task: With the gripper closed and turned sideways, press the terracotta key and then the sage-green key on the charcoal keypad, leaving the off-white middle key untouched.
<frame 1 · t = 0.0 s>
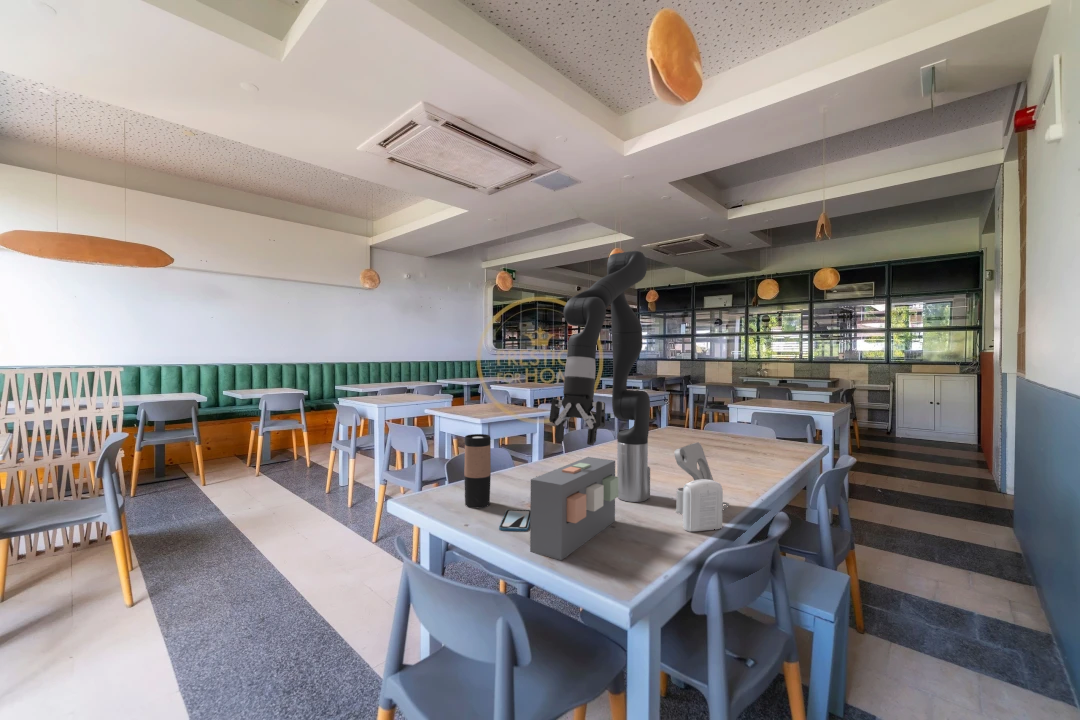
hand: (574, 443, 109), 22 cm above the table, tool pointing down, fingers open, 8 cm apart
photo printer: (702, 529, 114), on the table
smartphone: (516, 522, 119), on the table
travel mug: (477, 504, 131), on the table
phone holder: (702, 509, 128), on the table
terracotta key: (572, 506, 99), point 10 cm above the table, slide at 0.0 cm
white key: (590, 496, 107), point 10 cm above the table, slide at 0.0 cm
sage key: (606, 487, 114), point 10 cm above the table, slide at 0.0 cm
keypad console: (591, 538, 107), on the table
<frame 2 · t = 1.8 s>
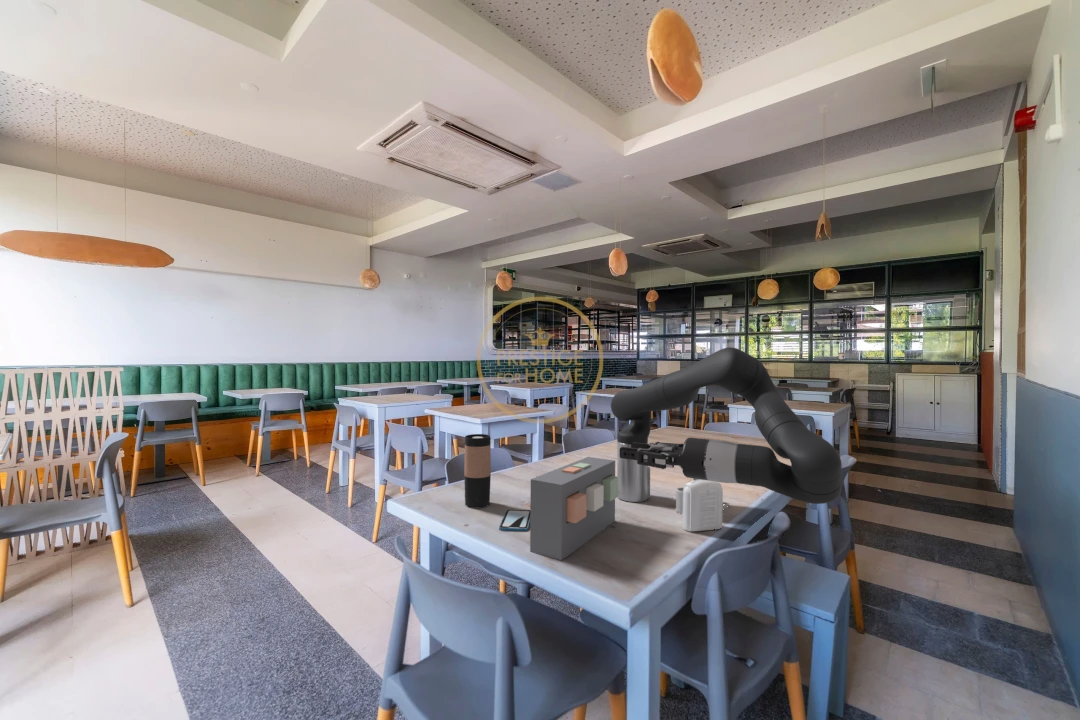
hand: (626, 449, 92), 24 cm above the table, tool horizontal, fingers open, 5 cm apart
nothing on the table moved.
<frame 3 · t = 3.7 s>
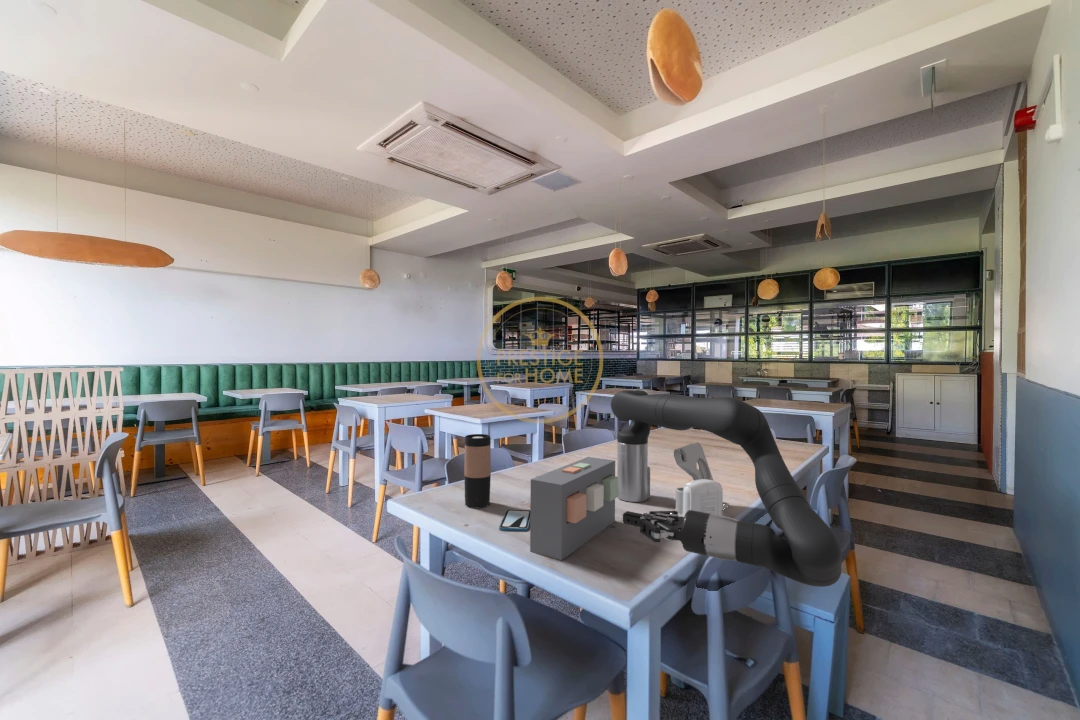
hand: (624, 517, 92), 10 cm above the table, tool horizontal, fingers closed
nothing on the table moved.
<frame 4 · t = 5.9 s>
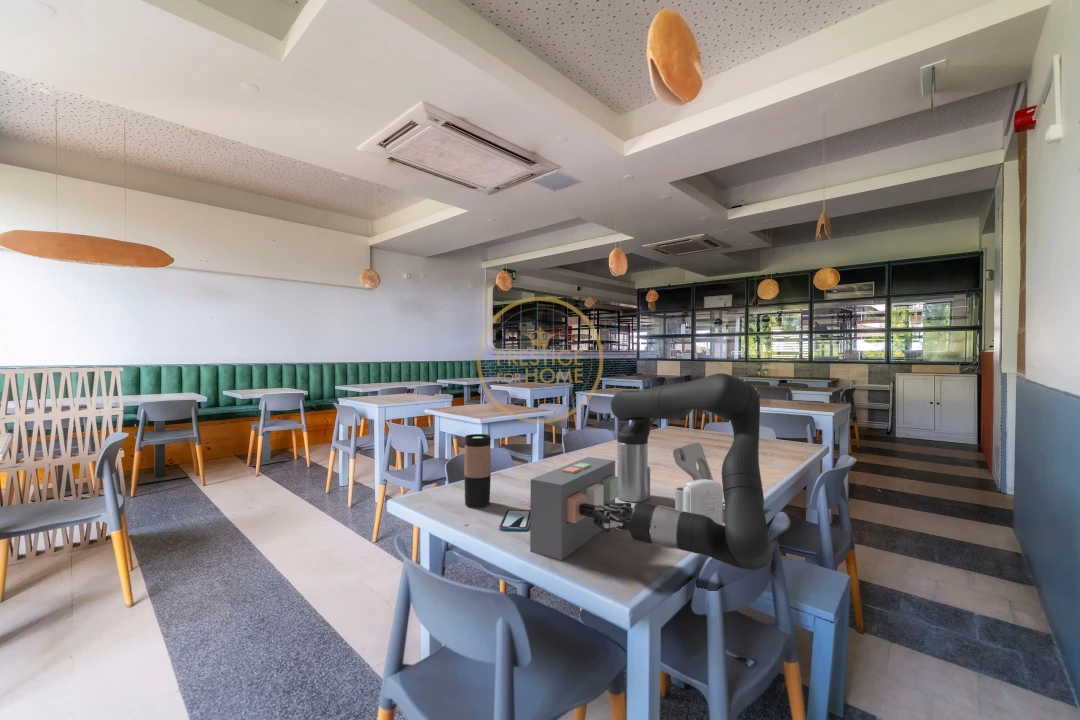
hand: (580, 508, 98), 10 cm above the table, tool horizontal, fingers closed
terracotta key: (571, 506, 99), point 10 cm above the table, slide at 0.1 cm, touching gripper
everything else where it was.
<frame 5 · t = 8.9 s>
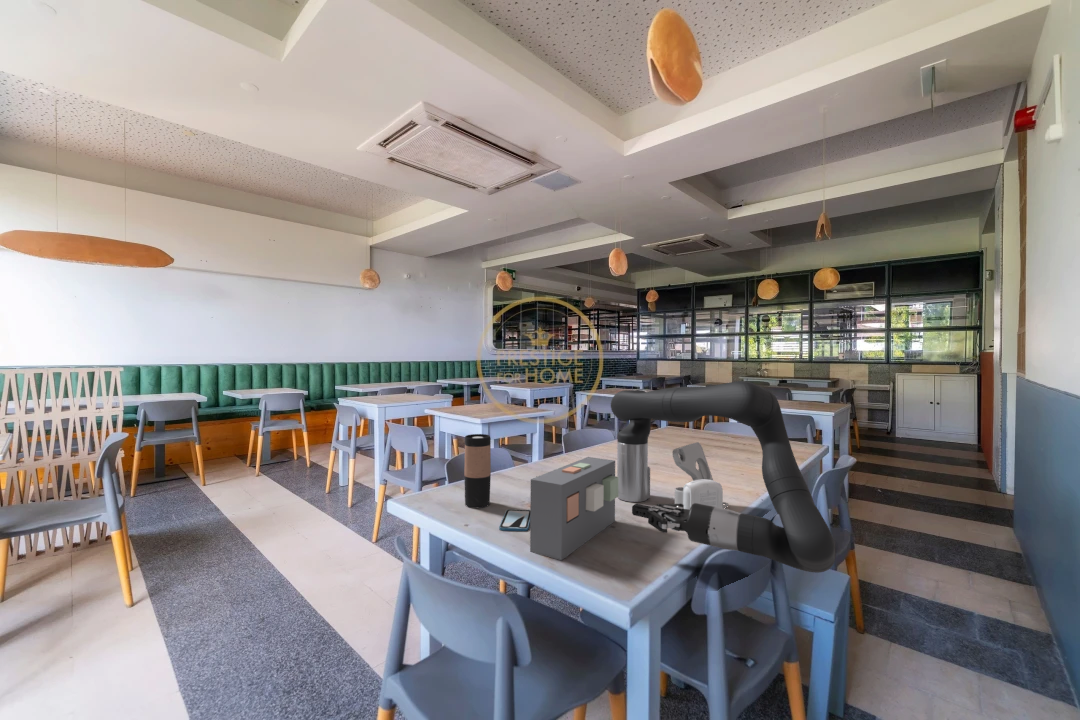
hand: (633, 509, 99), 10 cm above the table, tool horizontal, fingers closed
terracotta key: (564, 505, 100), point 10 cm above the table, slide at 1.9 cm
everything else where it was.
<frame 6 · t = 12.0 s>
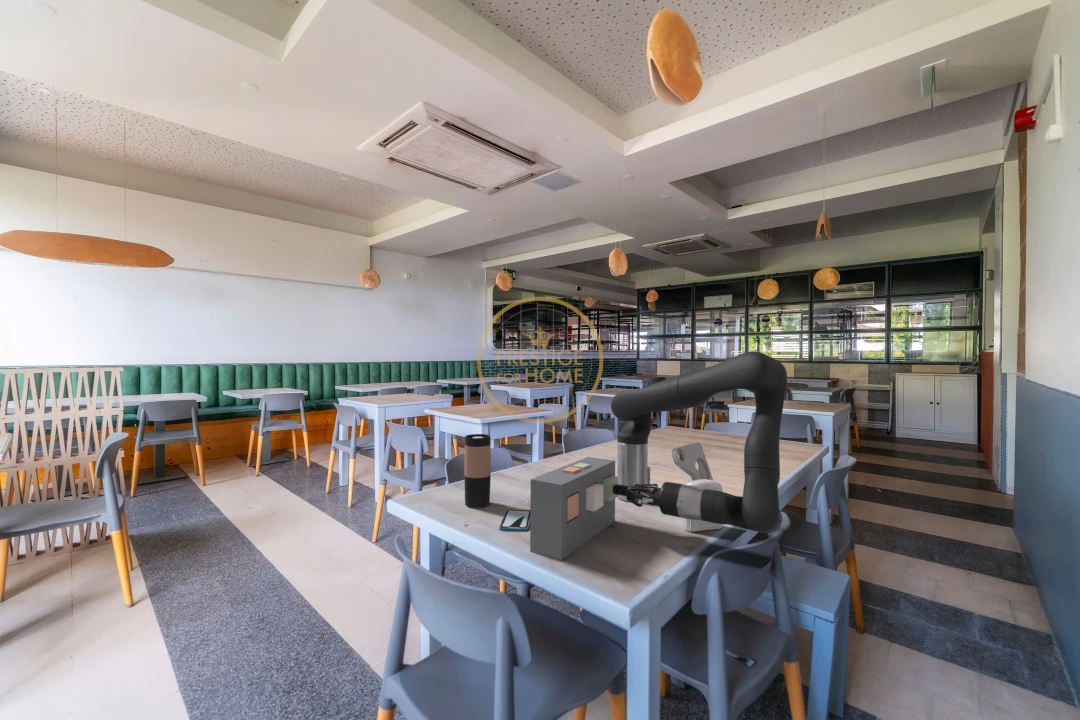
hand: (614, 488, 113), 10 cm above the table, tool horizontal, fingers closed
sage key: (605, 487, 114), point 10 cm above the table, slide at 0.1 cm, touching gripper
everything else where it was.
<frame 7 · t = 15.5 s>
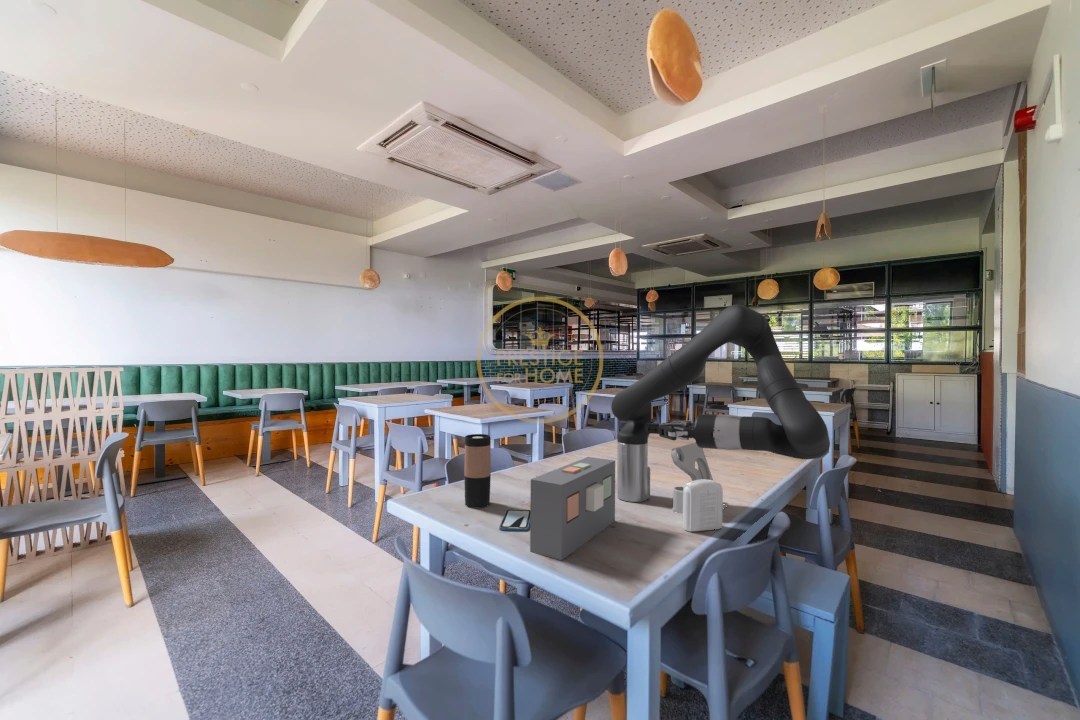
hand: (645, 428, 108), 26 cm above the table, tool horizontal, fingers closed
sage key: (599, 486, 115), point 10 cm above the table, slide at 2.0 cm
everything else where it was.
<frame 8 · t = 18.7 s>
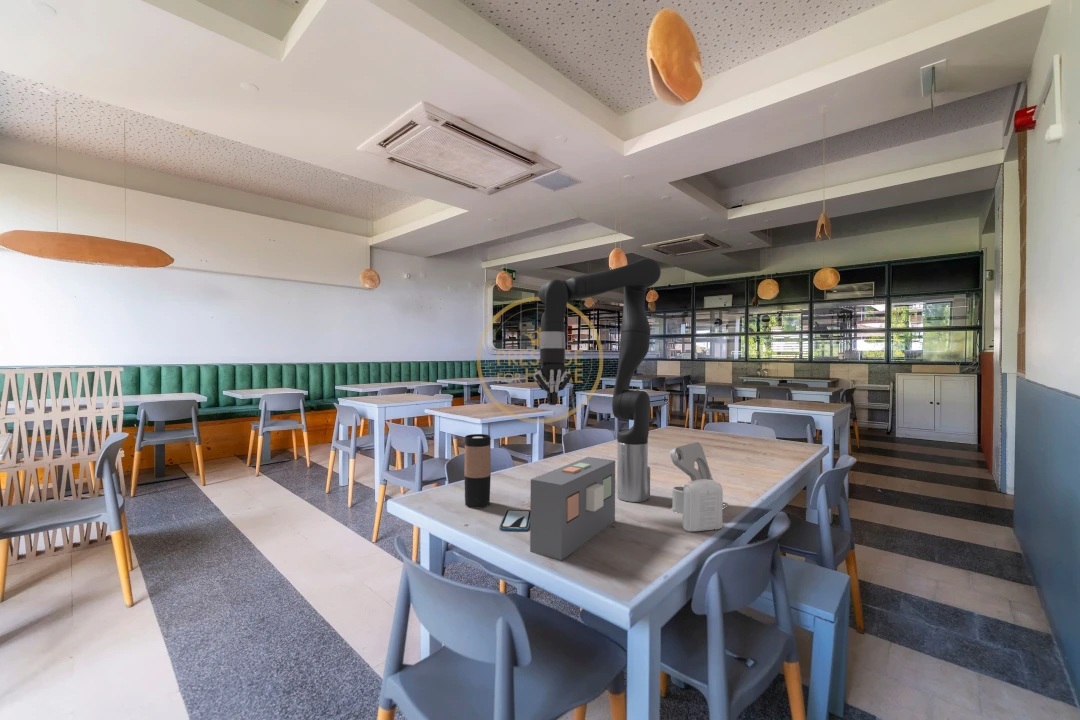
hand: (552, 404, 135), 29 cm above the table, tool pointing down, fingers closed
nothing on the table moved.
at the end: terracotta key slide at 1.9 cm; sage key slide at 2.0 cm; white key slide at 0.0 cm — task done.
